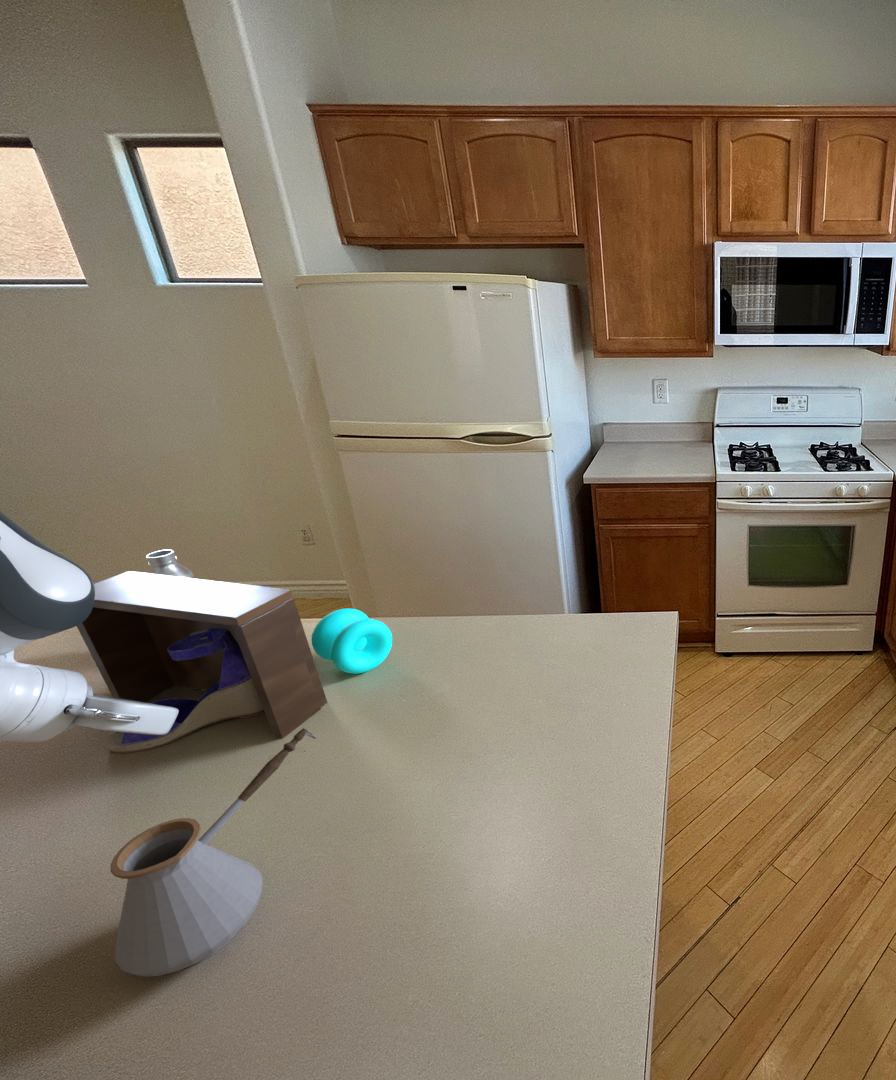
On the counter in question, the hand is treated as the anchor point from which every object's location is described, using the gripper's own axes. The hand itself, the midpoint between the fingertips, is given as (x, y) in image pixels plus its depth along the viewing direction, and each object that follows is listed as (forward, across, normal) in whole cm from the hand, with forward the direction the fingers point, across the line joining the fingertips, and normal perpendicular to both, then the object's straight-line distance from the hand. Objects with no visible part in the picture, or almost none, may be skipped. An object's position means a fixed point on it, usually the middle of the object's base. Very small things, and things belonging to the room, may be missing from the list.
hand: (156, 716), depth 81 cm
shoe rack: (+10, +1, -2) cm, 10 cm away
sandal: (+7, 0, +1) cm, 7 cm away
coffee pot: (-7, -34, +16) cm, 38 cm away
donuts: (+21, -11, -13) cm, 27 cm away
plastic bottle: (+19, +23, -12) cm, 32 cm away
